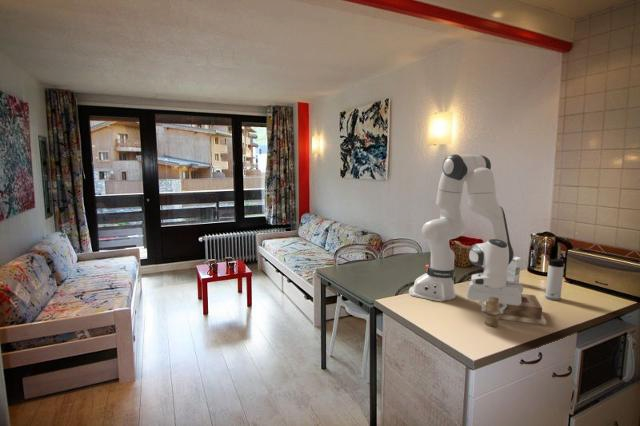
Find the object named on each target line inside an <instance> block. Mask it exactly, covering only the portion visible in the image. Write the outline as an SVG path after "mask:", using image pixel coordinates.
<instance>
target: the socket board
mask: <svg viewBox="0 0 640 426" xmlns="http://www.w3.org/2000/svg"><path fill="white" fill-rule="evenodd" d="M521 300H522V301H521V304H520V305H519V306H516V305H509V304H507V307H506V308H505V309H504V310H503V314H500V313H499V318H498V320H499V319H500V320H506V321H514V322H520V323H521V322H522V323H529V324H537V325H543V326H546V325H547V320H546V319H545V317H544V315H543V307H542V305H541V303H540V302H539V299H538V298H537V296H536V295H534V294H526V293H521ZM502 306H503V304H501V303H500V306H499V308H502Z"/></svg>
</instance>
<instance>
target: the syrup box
mask: <svg viewBox="0 0 640 426" xmlns="http://www.w3.org/2000/svg"><path fill="white" fill-rule="evenodd" d="M521 263H522V258H521V257H519V256H515V255H514V257H513V260H512V261H511V263H510V264H509V265H508V266H507V273H508V275H507V281H511V282H519V281H520V272H521ZM519 283H520V282H519Z"/></svg>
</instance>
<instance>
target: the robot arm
mask: <svg viewBox="0 0 640 426" xmlns="http://www.w3.org/2000/svg"><path fill="white" fill-rule="evenodd" d="M491 168H492V163H491V160H490V159H489V158H488V157H487V156H484V155H481V154H473V153H466V154H464V153H463V154H462V153H461V154H451V155H448V156H446V157H445V159H444V160H443V162H442V173H441V175H440V178H439V183H438V187H437V194H436V199H435V205H436V207H437V209H438V210H439V213H440V215H439V216H440V217H439V218H436V219H435V218H434V219H431V220H429V221H427V222H425V223H424V224H423V225H422V227H421V233H422V236H423V238H424V239H425V240H426V241H427V243H428V245H429V249H430V250H429V251H430V265H429V264H426V265H425V273H424V274H422V275H420V276H419V277H418V276H417V278H416V279H415V281H414V284H413V285H412V286H410V288H409V290H408V293H409V295H410V296H412V297H416V298H421V299H424V300H425V299H426V300H431V301H436V302H445V301H450V300H454V299H455V298H456V292H455V284H454V282H455V274H456V271H455V252H454V251H453V250H452V249H451V246H450V240H453V239H457V238H459V237H461V236H462V235H463V234H464V233H465V232H466V223H465V221H464V220H463V218H462V214H461V203H462V196H463V189H464V183H465V182H466V186H467V192H466V193H467V205H468V207H469V209H470V210H471V211H472V212H473V213H475V214H477V215H479V216H481V217H484V218H486V219H487V220H489V221H490V223H491V224H492V227H493V234H494V238H491V239H489V240H487V241H484V242H482V243H475V244H472V245H471V246H470V247H469V250H468V259H469V261H470V263H471V264H473V265H474V266H476V267H482V268H483V272H480V273H475V274H472V275H471V278H470V279H471V280H470V282H469V283H468V286H467V291H466V298H467V299H468V300H469V301H470V300H471V301H477V302H479V304H480V306H481V312H486V305H484V302H485V303H486V302H489V297H492V298H499V301H498V303H501V304H503V306H502V308H499V313H500V314H503V310H504V309H505V308H506V307H507V304H509V305H516V306H519V305H520V304H521V301H522V300H521V294H523V293H524V286H523V284H522V283H520V282H511V281H507V275H508V273H507V266H508V265H509V264H510V263H511V261H512V260H513V257H514V256H515V254H514V249H513V247H512V244H511V239H510V234H509V229H508V224H507V219H506V214H505V211H504V208H503V207H502V206H501V205H500V204H499V202H498V198H497V194H496V193H497V192H496V191H497V190H496V181H495V177H494V173H493V171H492V170H491Z"/></svg>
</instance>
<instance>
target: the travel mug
mask: <svg viewBox="0 0 640 426" xmlns="http://www.w3.org/2000/svg"><path fill="white" fill-rule="evenodd" d="M564 266H565V260H564V259H560V258H552V259H550V258H549V260H548V267H547V277H546V286H545V298H546V299H547V300H550V301H554V302H555V301H557V302H558V301H560V300H561V298H562V297H561V296H562V286H563V278H564V277H563V276H564V270H565V267H564Z"/></svg>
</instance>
